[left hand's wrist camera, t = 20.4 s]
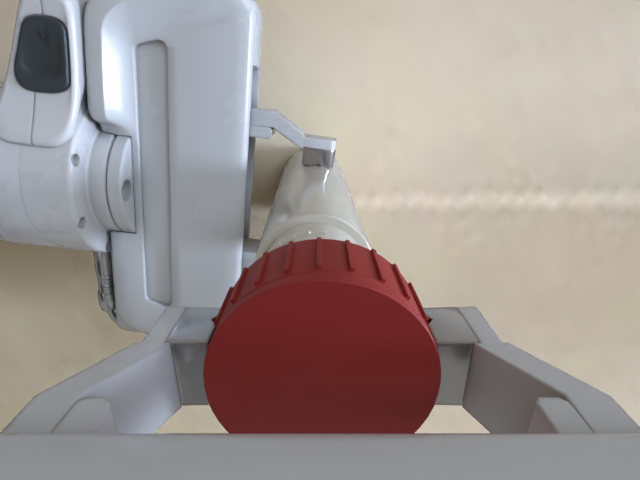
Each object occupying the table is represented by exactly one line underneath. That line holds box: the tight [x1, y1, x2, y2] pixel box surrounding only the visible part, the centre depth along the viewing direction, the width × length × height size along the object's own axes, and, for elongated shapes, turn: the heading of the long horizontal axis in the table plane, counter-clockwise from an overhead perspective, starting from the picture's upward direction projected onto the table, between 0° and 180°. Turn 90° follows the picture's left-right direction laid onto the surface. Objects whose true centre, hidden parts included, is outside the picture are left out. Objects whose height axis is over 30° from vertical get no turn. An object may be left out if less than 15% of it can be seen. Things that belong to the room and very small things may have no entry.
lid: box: [203, 237, 441, 434], centre depth 9 cm, size 5×5×2 cm
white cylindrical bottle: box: [255, 150, 371, 261], centre depth 20 cm, size 4×4×16 cm
